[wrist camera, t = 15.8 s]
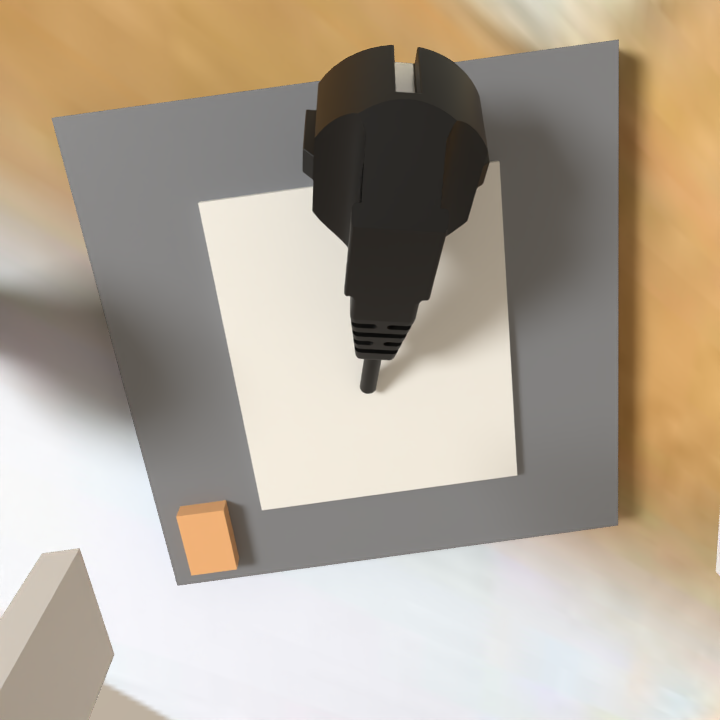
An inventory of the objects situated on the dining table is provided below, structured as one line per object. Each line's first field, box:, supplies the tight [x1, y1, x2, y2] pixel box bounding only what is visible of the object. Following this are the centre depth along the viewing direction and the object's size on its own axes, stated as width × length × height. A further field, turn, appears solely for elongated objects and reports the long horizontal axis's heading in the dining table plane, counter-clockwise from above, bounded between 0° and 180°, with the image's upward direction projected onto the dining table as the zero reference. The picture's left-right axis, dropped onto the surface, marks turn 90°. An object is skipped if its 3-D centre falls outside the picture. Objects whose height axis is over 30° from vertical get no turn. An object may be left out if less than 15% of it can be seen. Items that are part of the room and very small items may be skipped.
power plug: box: [302, 45, 490, 394], centre depth 24 cm, size 6×8×12 cm
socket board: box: [52, 40, 619, 586], centre depth 28 cm, size 20×20×2 cm
